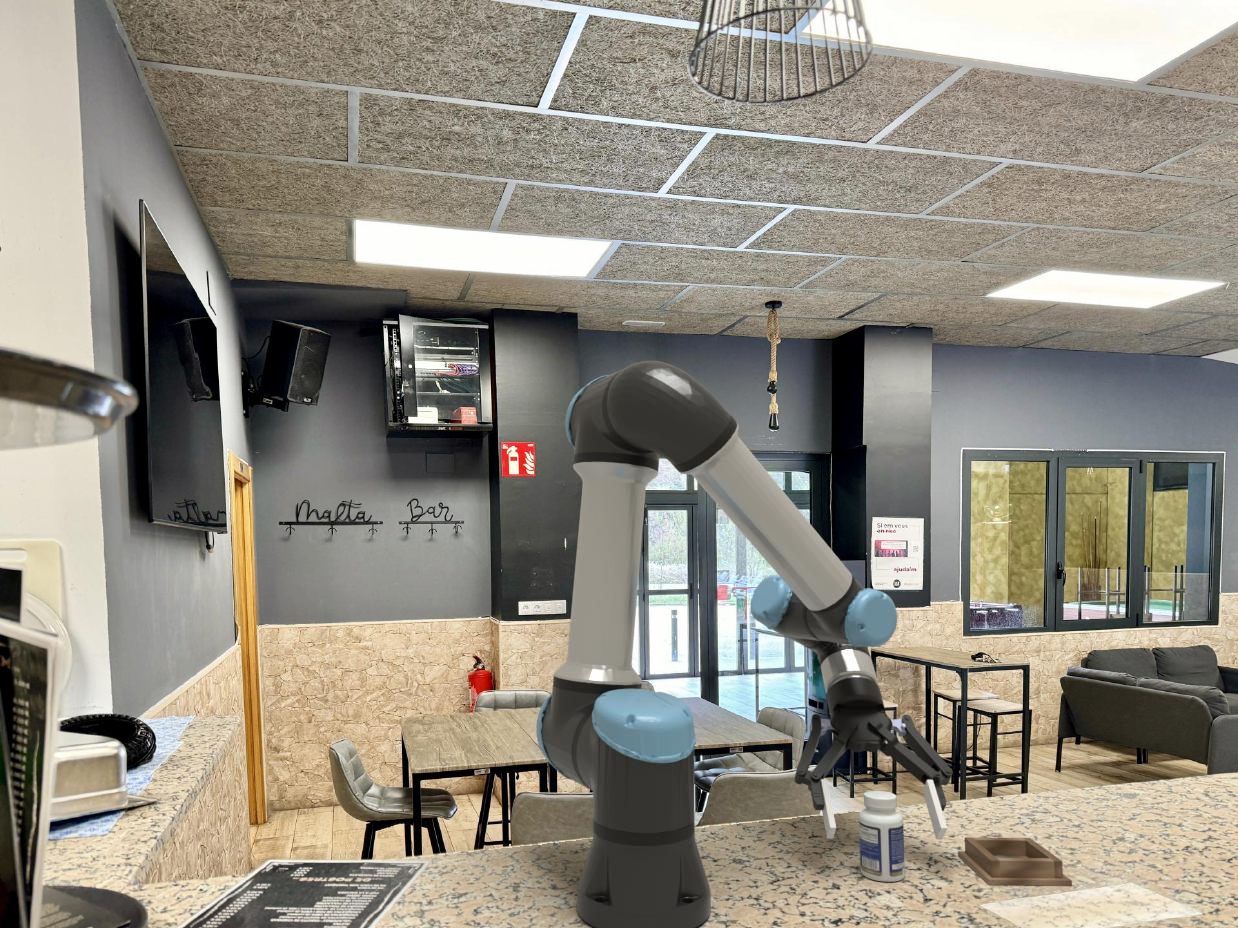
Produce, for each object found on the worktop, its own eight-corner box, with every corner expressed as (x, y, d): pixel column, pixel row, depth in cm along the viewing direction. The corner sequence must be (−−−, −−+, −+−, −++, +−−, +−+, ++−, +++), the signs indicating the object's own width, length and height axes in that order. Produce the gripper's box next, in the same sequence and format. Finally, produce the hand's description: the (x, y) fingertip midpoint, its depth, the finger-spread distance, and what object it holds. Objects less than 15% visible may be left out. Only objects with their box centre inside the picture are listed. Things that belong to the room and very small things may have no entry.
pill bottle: (899, 867, 109) (897, 789, 110) (909, 883, 104) (907, 801, 105) (856, 866, 109) (854, 788, 110) (864, 882, 104) (862, 799, 105)
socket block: (988, 884, 103) (987, 862, 104) (958, 855, 113) (957, 835, 114) (1072, 885, 103) (1070, 863, 103) (1033, 856, 113) (1032, 836, 113)
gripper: (933, 706, 124) (980, 848, 108) (762, 705, 125) (782, 847, 108) (945, 674, 119) (995, 818, 103) (767, 673, 120) (789, 817, 103)
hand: (886, 833), depth 105 cm, fingers open, 13 cm apart
